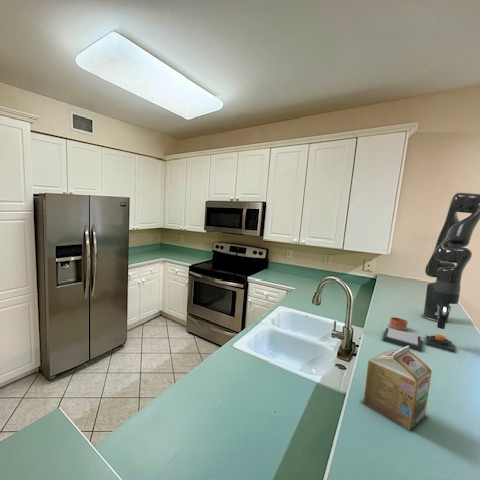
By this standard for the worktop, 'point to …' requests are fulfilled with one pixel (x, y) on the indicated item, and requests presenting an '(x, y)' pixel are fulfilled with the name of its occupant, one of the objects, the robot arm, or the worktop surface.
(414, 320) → the worktop surface
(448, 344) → the block
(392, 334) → the scale
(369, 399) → the milk carton
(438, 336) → the tare button
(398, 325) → the copper cup
